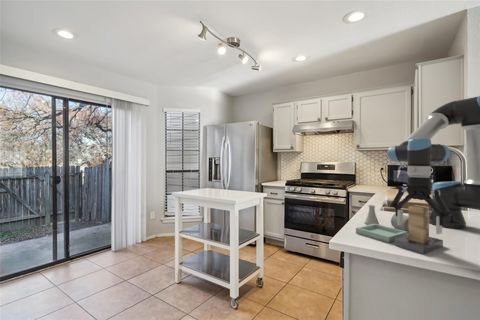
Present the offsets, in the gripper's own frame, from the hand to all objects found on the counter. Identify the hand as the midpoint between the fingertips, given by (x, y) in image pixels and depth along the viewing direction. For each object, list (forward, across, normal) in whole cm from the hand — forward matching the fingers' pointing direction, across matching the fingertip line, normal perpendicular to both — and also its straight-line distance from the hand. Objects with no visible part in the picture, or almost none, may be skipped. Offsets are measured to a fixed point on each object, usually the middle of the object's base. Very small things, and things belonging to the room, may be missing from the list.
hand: (418, 228), depth 94 cm
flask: (+7, -28, +14) cm, 32 cm away
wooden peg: (+7, 0, 0) cm, 7 cm away
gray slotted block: (+7, 0, 0) cm, 7 cm away
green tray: (+7, -15, 0) cm, 17 cm away
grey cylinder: (+7, -14, +19) cm, 24 cm away
